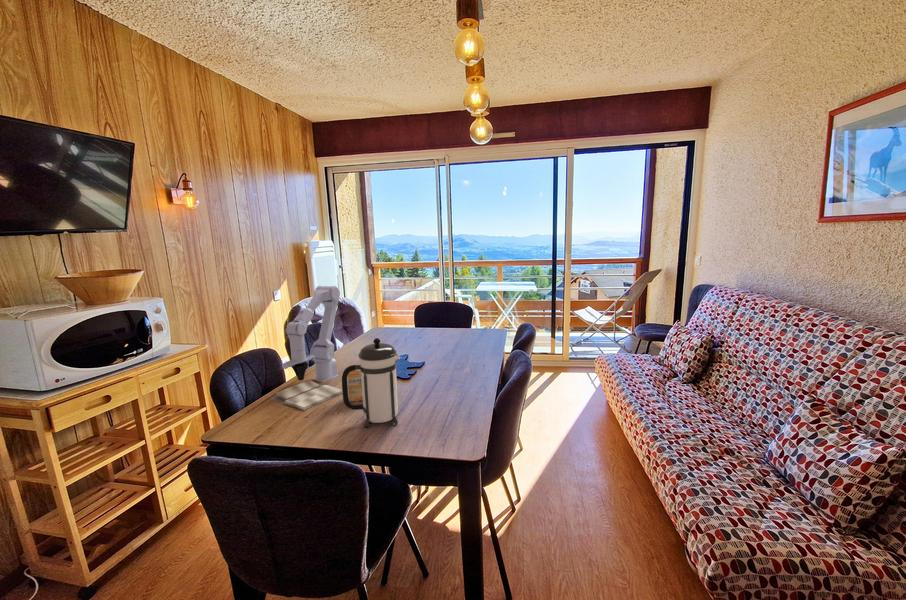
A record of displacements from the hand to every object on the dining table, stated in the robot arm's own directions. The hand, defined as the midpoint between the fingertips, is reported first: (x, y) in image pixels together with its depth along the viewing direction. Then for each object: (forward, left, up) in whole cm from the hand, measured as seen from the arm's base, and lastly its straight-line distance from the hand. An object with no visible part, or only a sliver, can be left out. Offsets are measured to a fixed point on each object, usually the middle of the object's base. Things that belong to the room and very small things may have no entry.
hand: (301, 379), depth 157 cm
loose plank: (+3, +2, -4) cm, 5 cm away
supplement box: (-6, +29, -5) cm, 30 cm away
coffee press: (+4, +49, -5) cm, 49 cm away
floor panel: (+3, +9, -5) cm, 10 cm away
